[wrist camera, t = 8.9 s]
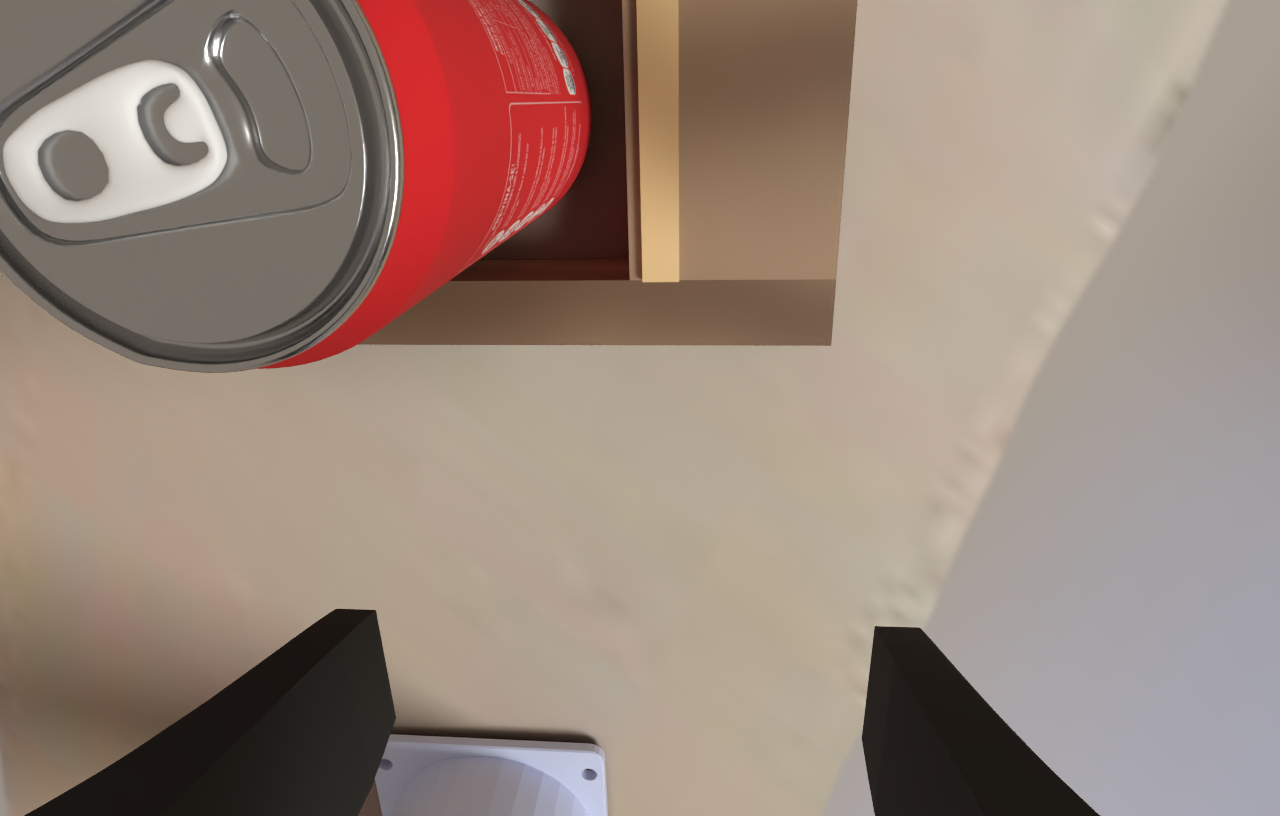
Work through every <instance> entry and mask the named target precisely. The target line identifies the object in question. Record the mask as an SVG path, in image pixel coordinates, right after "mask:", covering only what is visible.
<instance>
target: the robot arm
mask: <svg viewBox="0 0 1280 816" xmlns="http://www.w3.org/2000/svg"><path fill="white" fill-rule="evenodd" d="M395 719H396V716H395V711H394V705H393V700H392V695H391V689H390V684H389V679H388V673H387V668H386V663H385V657H384V652H383V646H382V641H381V636H380V630H379V625H378V620H377V614H376V610H356V609H335V610H334V611H332V612H331V613H329V614H328V615H326V616H324V617H323V618H322V619H320V620H319V621H317V622H316V623H314V624H313V625H311V626H310V627H309V628H307V629H306V630H304V631H303V632H302V633H300V634H299V635H298V636H296V637H295V638H293V639H292V640H291V641H289V642H288V643H287V644H285V645H284V646H282V647H281V648H280V649H278V650H277V651H276V652H274V653H273V654H272V655H270V656H269V657H268V658H266V659H265V660H263V661H262V662H261V663H259V664H258V665H257V666H255V667H254V668H252V669H251V670H250V671H248V672H247V673H245V674H244V675H243V676H241V677H240V678H239V679H237V680H236V681H234V682H233V683H232V684H230V685H229V686H227V687H226V688H225V689H223V690H222V691H220V692H219V693H218V694H216V695H215V696H214V697H212V698H211V699H209V700H208V701H207V702H205V703H204V704H202V705H201V706H199V707H198V708H196V709H195V710H193V711H192V712H190V713H189V714H187V715H186V716H184V717H183V718H181V719H180V720H178V721H177V722H175V723H174V724H172V725H171V726H169V727H168V728H166V729H165V730H163V731H162V732H160V733H159V734H157V735H156V736H154V737H153V738H152V739H150V740H149V741H147V742H146V743H144V744H143V745H141V746H140V747H138V748H137V749H135V750H134V751H132V752H131V753H129V754H127V755H126V756H124V757H123V758H121V759H120V760H118V761H116V762H115V763H113V764H112V765H110V766H108V767H107V768H105V769H103V770H102V771H100V772H99V773H97V774H95V775H94V776H92V777H90V778H89V779H87V780H85V781H84V782H82V783H80V784H79V785H77V786H75V787H73V788H72V789H70V790H68V791H67V792H65V793H63V794H61V795H60V796H58V797H56V798H54V799H53V800H51V801H49V802H48V803H46V804H44V805H42V806H41V807H39V808H37V809H35V810H34V811H32V812H30V813H28V814H26V815H25V816H358V814H359V812H360V810H361V808H362V806H363V803H364V801H365V799H366V797H367V795H368V793H369V791H370V789H371V787H372V784H373V782H374V779H375V782H376V787H377V792H378V797H379V802H380V806H381V811H382V816H608V806H607V787H606V768H605V755H604V751H603V750H602V749H601V748H600V747H598V746H597V745H595V744H590V743H569V742H547V741H525V740H504V739H482V738H461V737H439V736H417V735H396V734H391V731H392V728H393V725H394V722H395ZM862 742H863V748H864V755H865V761H866V767H867V773H868V779H869V785H870V790H871V795H872V801H873V807H874V812H875V816H1100V815H1099V814H1098V813H1096V812H1095V811H1094V810H1093V809H1092V808H1091V807H1090V806H1089V805H1088V804H1087V803H1086V802H1085V801H1083V799H1081V798H1080V797H1079V796H1078V795H1077V794H1076V793H1075V792H1074V791H1073V790H1072V789H1071V788H1070V787H1069V786H1068V785H1067V784H1066V783H1065V782H1063V781H1062V780H1061V779H1060V778H1059V777H1058V776H1057V775H1056V774H1055V773H1054V772H1053V771H1052V770H1051V769H1050V768H1049V767H1048V766H1047V765H1046V764H1045V763H1044V762H1043V761H1042V760H1041V759H1040V758H1039V757H1038V756H1037V755H1036V754H1035V753H1034V752H1033V751H1032V750H1031V749H1030V748H1029V747H1028V746H1027V745H1026V743H1025V742H1024V741H1022V739H1021V738H1020V737H1019V736H1018V735H1017V734H1016V733H1015V732H1014V731H1013V730H1012V729H1011V728H1010V727H1009V726H1008V725H1007V724H1006V723H1005V722H1004V721H1003V719H1002V718H1001V717H1000V716H999V715H998V714H997V713H996V712H995V711H994V710H993V709H992V708H991V707H990V706H989V704H988V703H987V702H986V701H985V700H984V699H983V698H982V697H981V696H980V695H979V693H978V692H977V691H976V690H975V689H974V688H973V687H972V686H971V685H970V683H969V682H968V681H967V680H966V679H965V678H964V677H963V676H962V674H961V673H960V672H959V671H958V670H957V669H956V668H955V667H954V665H953V664H952V663H951V662H950V661H949V660H948V659H947V658H946V656H945V655H944V654H943V653H942V652H941V651H940V650H939V648H938V647H937V646H936V645H935V644H934V643H933V641H932V640H931V639H930V638H929V637H928V636H927V635H926V634H925V633H924V632H923V631H922V630H921V628H911V627H880V626H875V630H874V638H873V647H872V656H871V664H870V673H869V682H868V690H867V699H866V708H865V716H864V725H863V733H862ZM386 759H388V760H386ZM587 769H592V770H593V771H590V770H587Z"/></svg>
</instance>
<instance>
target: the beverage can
mask: <svg viewBox="0 0 1280 816" xmlns="http://www.w3.org/2000/svg"><path fill="white" fill-rule="evenodd" d="M590 133H591V102H590V95H589V90H588V85H587V81H586V78H585V74H584V72H583V69H582V66H581V64H580V61H579V59H578V57H577V55H576V53H575V51H574V49H573V47H572V46H571V44H570V43H569V41H568V39H567V38H566V37H565V35H564V34H563V33H562V31H561V30H560V29H559V28H558V26H557V25H556V24H555V23H554V22H553V21H552V20H551V19H550V18H549V17H548V16H547V15H546V14H545V13H544V12H542V11H541V10H540V9H539V8H537V7H536V6H535V5H533V4H532V3H530V2H529V1H527V0H0V269H1V270H2V272H3V273H4V274H5V275H6V276H7V277H8V278H9V279H10V280H11V281H12V282H13V283H14V284H15V285H16V286H17V287H19V288H20V289H21V290H22V291H23V292H24V293H25V294H26V295H27V296H29V297H30V298H31V299H32V300H33V301H34V302H36V303H37V304H38V305H39V306H40V307H42V308H43V309H44V310H46V311H47V312H48V313H50V314H51V315H52V316H54V317H55V318H56V319H58V320H59V321H61V322H62V323H64V324H65V325H67V326H68V327H70V328H71V329H73V330H75V331H76V332H78V333H80V334H82V335H83V336H85V337H87V338H88V339H90V340H92V341H94V342H96V343H98V344H100V345H102V346H103V347H105V348H107V349H110V350H112V351H114V352H116V353H118V354H120V355H122V356H124V357H126V358H129V359H131V360H133V361H135V362H138V363H141V364H145V365H151V366H156V367H162V368H168V369H174V370H182V371H190V372H204V373H226V372H237V371H245V370H251V369H262V368H281V367H290V366H296V365H302V364H307V363H311V362H315V361H318V360H322V359H325V358H328V357H330V356H333V355H336V354H339V353H341V352H343V351H345V350H347V349H349V348H352V347H353V346H355V345H357V344H359V343H360V342H362V341H364V340H366V339H367V338H369V337H370V336H372V335H373V334H375V333H376V332H378V331H379V330H380V329H382V328H383V327H385V326H386V325H388V324H389V323H390V322H392V321H393V320H395V319H396V318H397V317H399V316H400V315H402V314H403V313H404V312H406V311H407V310H409V309H410V308H412V307H413V306H414V305H416V304H417V303H419V302H420V301H421V300H423V299H424V298H426V297H427V296H428V295H430V294H431V293H433V292H434V291H435V290H437V289H438V288H440V287H441V286H443V285H444V284H445V283H447V282H448V281H450V280H451V279H452V278H454V277H455V276H457V275H458V274H459V273H461V272H462V271H464V270H465V269H467V268H468V267H469V266H471V265H472V264H474V263H475V262H476V261H478V260H479V259H481V258H482V257H483V256H485V255H486V254H488V253H489V252H491V251H492V250H493V249H495V248H496V247H498V246H499V245H500V244H502V243H503V242H505V241H506V240H507V239H509V238H510V237H512V236H513V235H515V234H516V233H517V232H519V231H520V230H522V229H523V228H524V227H526V226H527V225H529V224H530V223H531V222H533V221H534V220H536V219H537V218H539V217H540V216H541V215H543V214H544V213H546V212H547V211H548V210H549V209H551V208H552V207H553V206H554V205H555V204H556V203H557V202H558V201H559V200H560V199H561V198H562V197H563V196H564V195H565V194H566V192H567V191H568V190H569V188H570V187H571V186H572V184H573V182H574V181H575V179H576V177H577V175H578V173H579V171H580V169H581V167H582V165H583V162H584V159H585V156H586V153H587V149H588V145H589V140H590Z"/></svg>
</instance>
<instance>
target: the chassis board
mask: <svg viewBox="0 0 1280 816" xmlns="http://www.w3.org/2000/svg"><path fill="white" fill-rule="evenodd" d="M856 11H857V0H622V23H623V59H624V94H625V130H626V166H627V202H628V238H629V259H493V260H478V261H476V262H475V263H474V264H472V265H471V266H469V267H468V268H467V269H465V270H464V271H462V272H461V273H459V274H458V275H457V276H455V277H454V278H452V279H451V280H450V281H448V282H447V283H445V284H444V285H443V286H441V287H440V288H438V289H437V290H435V291H434V292H433V293H431V294H430V295H428V296H427V297H426V298H424V299H423V300H421V301H420V302H419V303H417V304H416V305H414V306H413V307H412V308H410V309H409V310H407V311H406V312H404V313H403V314H402V315H400V316H399V317H397V318H396V319H395V320H393V321H392V322H390V323H389V324H388V325H386V326H385V327H383V328H382V329H380V330H379V331H378V332H376V333H375V334H373V335H372V336H370V337H369V338H367V339H366V340H364V341H362V342H360V343H359V344H407V345H824V346H831V340H832V326H833V313H834V300H835V287H836V274H837V261H838V247H839V234H840V221H841V208H842V195H843V182H844V168H845V155H846V142H847V129H848V116H849V103H850V90H851V76H852V63H853V50H854V37H855V24H856Z"/></svg>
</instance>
